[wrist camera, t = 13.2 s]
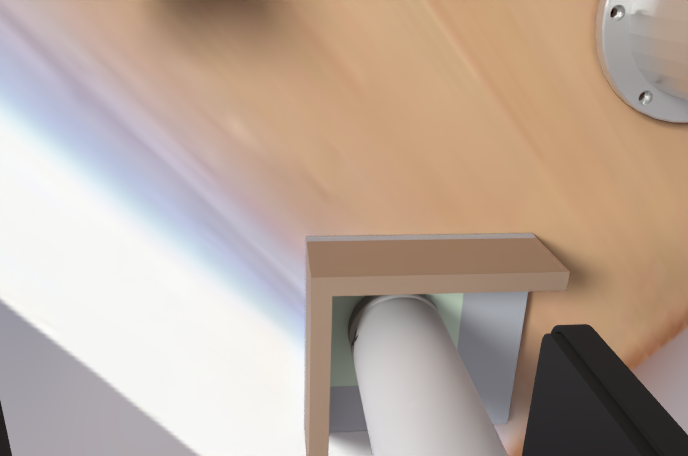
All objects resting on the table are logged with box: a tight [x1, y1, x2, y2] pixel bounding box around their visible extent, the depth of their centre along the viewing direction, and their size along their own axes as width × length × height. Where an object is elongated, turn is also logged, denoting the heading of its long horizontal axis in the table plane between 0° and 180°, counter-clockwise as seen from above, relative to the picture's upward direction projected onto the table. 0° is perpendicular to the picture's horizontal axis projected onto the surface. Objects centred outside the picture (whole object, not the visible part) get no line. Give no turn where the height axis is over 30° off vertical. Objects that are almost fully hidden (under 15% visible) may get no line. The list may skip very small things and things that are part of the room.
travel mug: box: [348, 294, 508, 456], centre depth 34 cm, size 6×7×20 cm
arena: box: [304, 233, 570, 456], centre depth 42 cm, size 15×15×6 cm
